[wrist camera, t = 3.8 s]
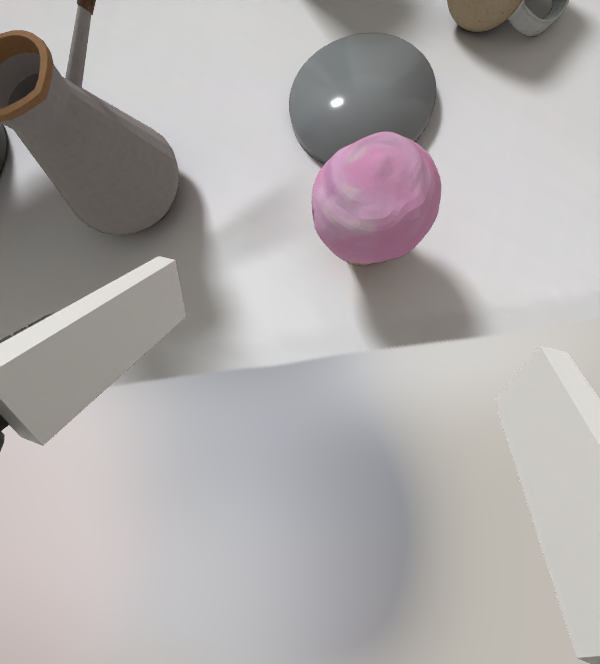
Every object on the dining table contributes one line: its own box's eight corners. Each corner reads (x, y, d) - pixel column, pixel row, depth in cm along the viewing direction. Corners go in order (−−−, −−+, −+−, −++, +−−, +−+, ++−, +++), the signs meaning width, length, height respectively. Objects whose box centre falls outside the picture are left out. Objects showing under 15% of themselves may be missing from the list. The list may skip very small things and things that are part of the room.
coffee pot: (151, 265, 29) (-39, 157, 14) (75, 216, 31) (-159, 78, 17) (262, 99, 30) (189, -162, 15) (181, 62, 32) (49, -197, 17)
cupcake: (394, 186, 27) (427, 80, 17) (428, 268, 25) (485, 204, 15) (306, 218, 28) (288, 134, 18) (333, 300, 26) (331, 257, 16)
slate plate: (275, 158, 29) (272, 149, 28) (310, 41, 30) (309, 27, 29) (414, 180, 27) (417, 171, 25) (445, 52, 28) (450, 38, 27)
